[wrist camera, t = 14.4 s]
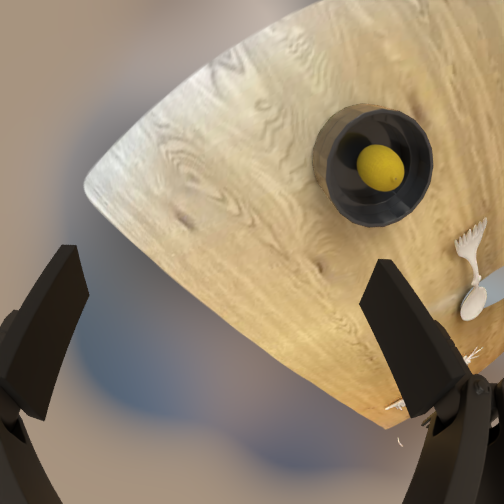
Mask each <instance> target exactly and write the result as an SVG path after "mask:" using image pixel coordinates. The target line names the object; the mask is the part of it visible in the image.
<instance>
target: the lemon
mask: <svg viewBox="0 0 504 504" xmlns="http://www.w3.org/2000/svg"><path fill="white" fill-rule="evenodd" d="M357 170H358V173H359V176H360V177H361V179H362V180H363V181H364V182H365V183H366V184H367V185H368V186H369V187H371V188H373V189H375V190H378V191H384V192H386V191H391V190H394V189H395V188H397V187H398V186H399V185H400V184H401V182H402V180H403V177H404V166H403V163H402V161H401V159H400V158H399V156H398V155H397V154H396V153H395V152H394V151H393V150H391V149H390V148H388V147H386V146H383V145H370V146H368V147H366V148H364V149H363V150H362V151H361V153H360V154H359V156H358V158H357Z"/></svg>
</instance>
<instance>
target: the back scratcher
mask: <svg viewBox="0 0 504 504" xmlns="http://www.w3.org/2000/svg"><path fill="white" fill-rule="evenodd" d="M486 224H487V218H486V217H484V219H483V222H482V224H481V221H479V223H478V226H477V225H476V224H475V225H474V228H473V231H472V233H471V229H469V230H468V232H467V235H465V233H464V234H463V237H462V238H461V237H459V243H458V242H457V240H455V241H454V242H455V247H456V250H457V253H458V255H459V256H460V257H463V258H466V259H467V260H468V261H469V262H470V264H471V266H472V269H473V273H474V277H473V280H472V282H471V285H472V286H473V285H474V288H473V290H472V291H471V292H470V294H469V295H468V296H467V298H466V299H465V301H464V303H463V305H462V308H461V317H462V319H463V320H465V321H469V320H472V319H474V318H475V317H477V316H478V315H479V314H480V312H481V311H482V309H483V308H484V305H485V302H486V298H487V294H486V289H485V288H484V287H478V284H479V282H480V280H481V276H480V275H479V274H478V266H477V261H476V251H477V248H478V245H479V243H480V241H481V239H482V235H483V232H484V229H485V227H486Z"/></svg>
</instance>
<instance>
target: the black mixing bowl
mask: <svg viewBox="0 0 504 504" xmlns="http://www.w3.org/2000/svg"><path fill="white" fill-rule="evenodd" d="M370 145H383V146H386V147H388V148H390V149H391V150H393V151H394V152H395V153H396V154H397V155H398V156H399V158H400V159H401V161H402V163H403V166H404V177H403V180H402V182H401V184H400V185H399V186H398V187H397V188H395V189H394V190H391V191H386V192H384V191H378V190H375V189H373V188H371V187H369V186H368V185H367V184H366V183H365V182H364V181H363V180H362V179H361V177H360V176H359V173H358V170H357V158H358V156H359V154H360V153H361V151H362V150H363V149H364V148H366V147H368V146H370ZM313 168H314V172H315V176H316V179H317V182H318V184H319V186H320V187H321V188H322V190H323V191H324V193H325V194H326V196H327V197H328V198H329V200H330V201H331V202H332V204H333V205H334V206H335V207H336V209H337V210H338V211H339V213H340V214H342V215H343V216H344V217H346V218H347V219H348V220H350V221H351V222H352V223H355V224H358V225H362V226H365V227H384V226H387V225H390V224H393V223H395V222H398V221H400V220H401V219H403V218H404V217H406V216H407V215H408V214H410V213H411V212H412V211H413V210H414V209H415V208H416V207H417V205H418V204H419V203H420V202H421V200H422V199H423V198H424V196H425V193H426V191H427V189H428V187H429V185H430V182H431V177H432V171H433V155H432V148H431V145H430V143H429V140H428V138H427V135H426V133H425V131H424V130H423V129H422V128H421V127H420V125H419V124H418V123H417V122H416V121H415V120H414V119H413V118H411V117H409V116H408V115H406V114H404V113H402V112H400V111H398V110H394V109H390V108H386V107H383V106H379V105H372V104H363V103H361V104H357V105H353V106H349V107H346V108H344V109H342V110H341V111H339V112H338V113H336V114H335V115H333V116H332V117H331V118H330V119H329V120H328V121H327V123H326V124H325V125H324V127H323V128H322V129H321V130H320V132H319V135H318V137H317V140H316V143H315V146H314V150H313Z"/></svg>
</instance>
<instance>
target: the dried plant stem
mask: <svg viewBox="0 0 504 504" xmlns="http://www.w3.org/2000/svg"><path fill="white" fill-rule="evenodd" d="M477 347H478V346H477ZM477 347H476V349H477ZM482 348H483V347H482ZM482 348H481V349H482ZM476 349H475V350H476ZM475 350H474V351H475ZM479 350H480V349H479ZM479 350H478V351H479ZM474 351H473V353H474ZM478 351H477V352H478ZM477 352H476V353H477ZM473 353H472V354H473ZM472 354H471V355H472ZM474 354H475V353H474ZM474 354H473V355H474ZM471 355H470V356H469V357H468V358H467V355H465V356H464V357H463V359H464V361H465V362H466V364H467V363H470V362H471V361H470V360H469V359H472V358H471V357H472V356H473V355H472V356H471ZM476 357H478V356H476ZM466 358H467V359H466ZM473 358H475V357H473ZM467 365H468V364H467ZM394 406H395V407H396V408H397V409H398V407H399V408H400V410H401V411H402V409H401V407H403V406H406V405H405V403H404V400H403V399H400V400H398V401H396V402H395V403H394V404H392V405H391V406H389V407H387V408H385V409H386V410H388V409H390V408H392V407H394ZM397 406H398V407H397ZM398 442H399V439H398ZM399 444H400V445H401V446H402V447H403V445H402V444H401V443H400V442H399Z"/></svg>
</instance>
